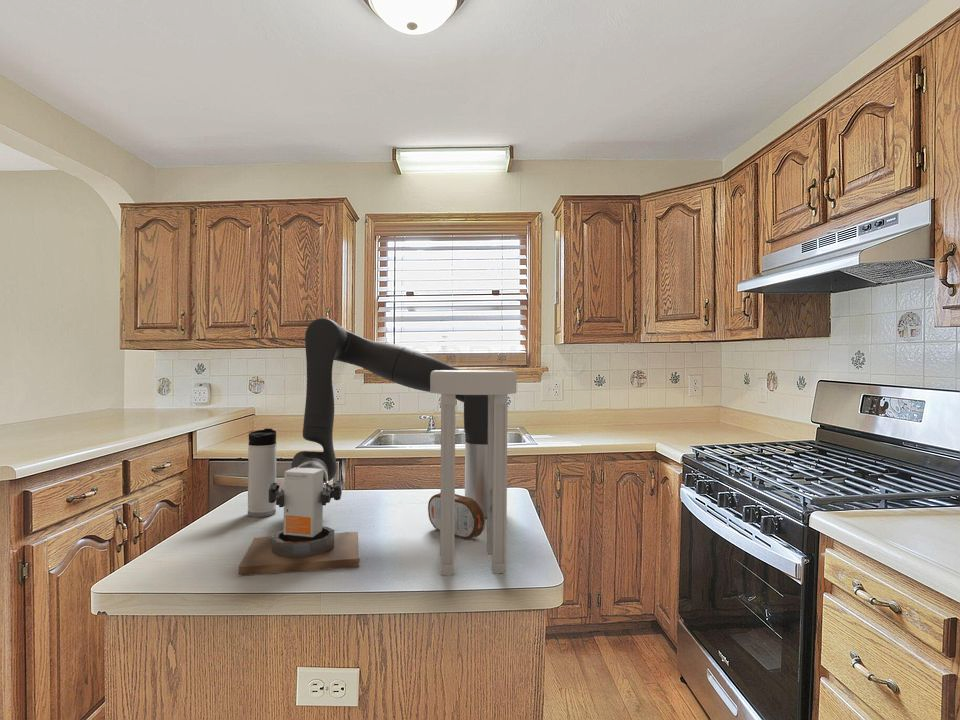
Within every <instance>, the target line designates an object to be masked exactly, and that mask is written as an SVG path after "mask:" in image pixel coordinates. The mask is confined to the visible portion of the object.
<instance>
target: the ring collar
mask: <svg viewBox="0 0 960 720" xmlns="http://www.w3.org/2000/svg"><path fill="white" fill-rule="evenodd" d="M335 533H336V531H335V530H334V529H333V528H330V527H329V526H325V525H322V531H321V532H320V533H318V534H317V535H315V536H314V537H304V536H294V535H284V534H283V529H281V530H279V531H277V532H275V533H273V535H272V537H273V538H272V553H274V554H275V555H277V556H279V557H287V558H304V557H312V556H316V555H320V554H324V553H327V552H328V551H330V550H332V549H333V548H334V542H335ZM299 540H313V541H307V542H295V541H299Z"/></svg>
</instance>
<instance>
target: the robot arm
mask: <svg viewBox="0 0 960 720" xmlns="http://www.w3.org/2000/svg"><path fill="white" fill-rule="evenodd" d="M304 333H305V334H304V342H305V343H304V345H305V346H304V347H305V360H306V391H305V392H306V396H305V406H304V407H305V408H304V414H303V415H304V416H303V424H302V426H303V427H302V438H303V439H304V440H306V441H308V442H311V443H317V444H318V445H320V446H321V447H322V451H314V450H313V451H311V450H309V451H308V450H302V451H298V452H297V453H296V454H295V455H294V456H293V458H292V461H291V466H290V469H292V468H295V467H296V468H317V469H323V470H324V471H323V493H322V506H323V507H324V506H326V505H327V504H329V503H331V500H332V499H333V500H334V501H339V500H341V499H342V498H341V497H342V494H343V481H342V480H336V481H335V482H333V483H332V484H329V482H330V481H332V480H333V479H334V478H335V476H336V474H337V470H338V465H337V460H336V459H337V458H336V453H335V450H334V441H333V431H334V419H335V397H334V395H335V394H334V389H333V388H334V387H333V366H334V361H337V362H341V363H346V364H349V365H353V366H356V367H359V368H362V369H364V370H366V371H368V372H370V373H372V374H374V375H376V376H378V377H380V378H382V379H385V380H387V381H390V382H393V383H395V384H398V385H401V386H404V387H407V388H410V389H414V390H418V391H422V392H426V393H430V375H431V372H432V371H434V370H461V369H459V368H456V367H455V366H451V365H450V364H447V363H445V362H443V361H441V360H439V359H437V358H434V357H432V356H430V355H428V354H425V353H422V352H420V351H418V350H415V349H412V348H409V347H405V346H403V345H399V344H394V343H389V342H384V341H383V342H382V341H376V340H372V339H367V338H364V336H363V337H362V336H360V335H358V334H356V333H353V332H351V331H349V330H348V329H346V328H345V327H342V326H341V325H340V324H338V323H337V322H336V321H335V320H332V319H330V318H327V317H319V318H316V319H314V320H313V321H311V322H310V323H309V325H308V326H307V327H306V330H305V332H304ZM455 400H457V401H460V402H462V403H463V430H464V437H465V438H464V442H465V445H464V496H465V497H469V498H472V499H473V500H475V501H476V502H477V503H478V504H479V506H480V507H481V509H482V511H483V514H484V518H487V472H488V395H456V396H455ZM275 501H276V506H279V507H278V508H284V486H280V484H279V483H277V482H276V483H272V484H271V485H270V488H269V503H274V502H275Z"/></svg>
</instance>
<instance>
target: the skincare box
mask: <svg viewBox="0 0 960 720" xmlns="http://www.w3.org/2000/svg"><path fill="white" fill-rule="evenodd" d="M323 471H324V470H323V469H317V468H296V467H295V468H292V469H291V468H290V469H287V470H285V471H284V480H283V481H284V483H283V487H284V507H283V527H282V530H283V534H284V535H294V536H304V537H314V536H315V535H317V534H318V533H320V532H321V531H322V526H323V516H324V511H323V510H324V505H323V506H322V493H323Z"/></svg>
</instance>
